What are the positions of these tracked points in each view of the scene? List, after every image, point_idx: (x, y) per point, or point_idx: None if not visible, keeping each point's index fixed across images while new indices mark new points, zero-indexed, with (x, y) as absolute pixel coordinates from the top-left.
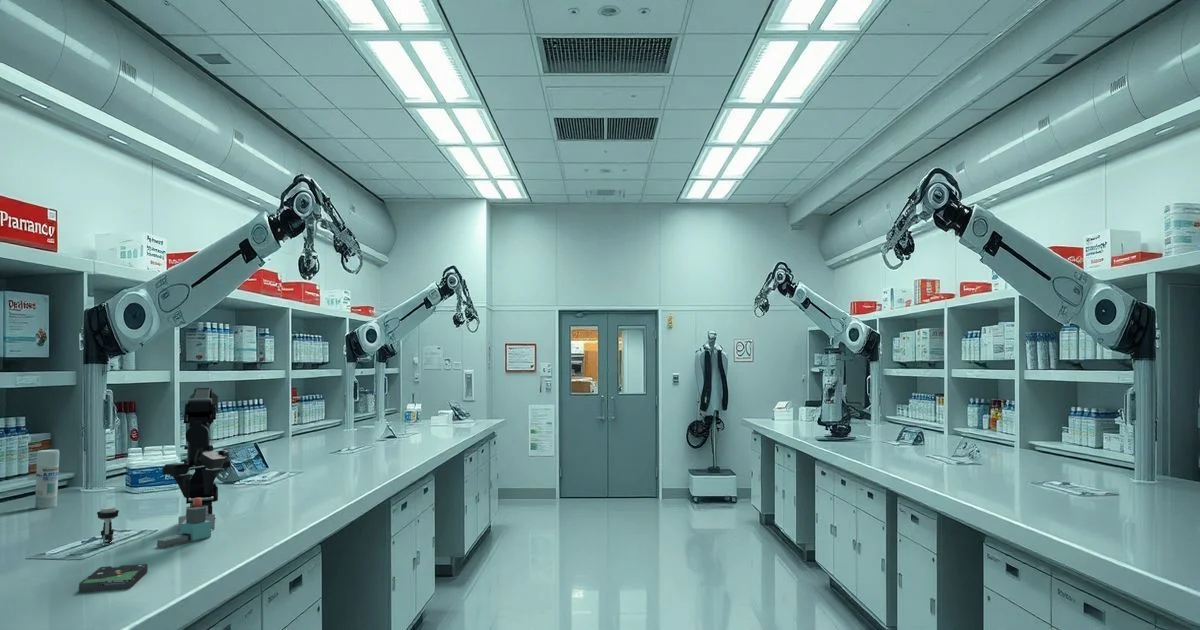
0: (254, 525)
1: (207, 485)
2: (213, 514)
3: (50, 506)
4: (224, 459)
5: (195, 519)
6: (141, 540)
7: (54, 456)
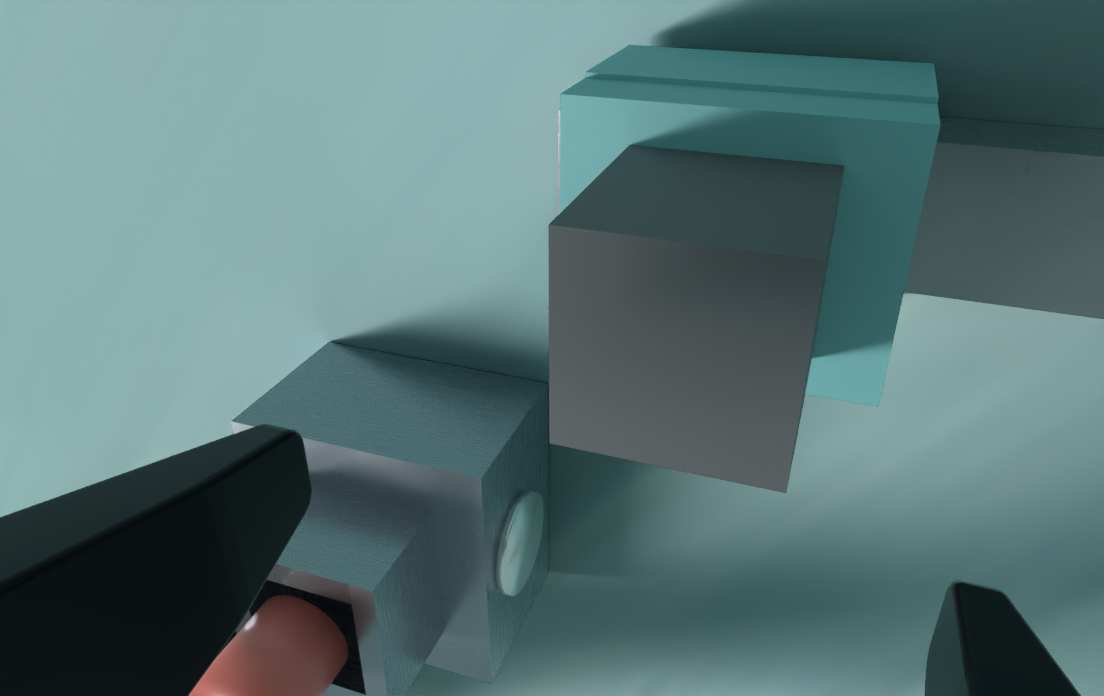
0: (33, 85)
1: (127, 614)
2: None
3: None
4: None
5: (825, 190)
6: None
7: None
